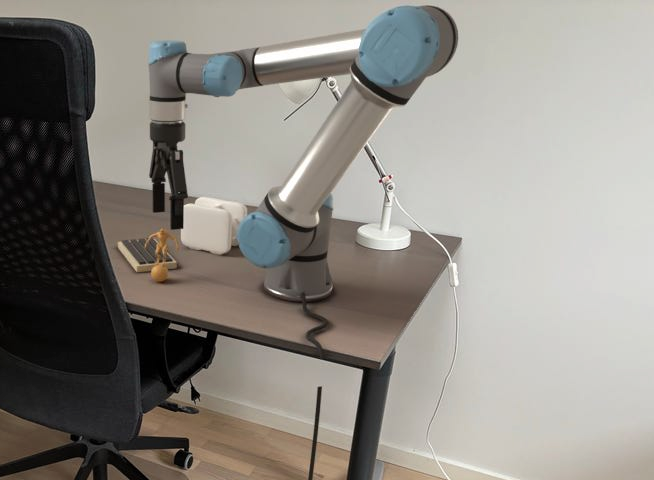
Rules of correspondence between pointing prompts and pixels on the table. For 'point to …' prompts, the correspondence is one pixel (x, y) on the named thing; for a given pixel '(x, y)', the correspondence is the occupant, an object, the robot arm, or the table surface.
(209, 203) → the cable organizer
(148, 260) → the keyboard
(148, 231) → the table surface
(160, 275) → the figurine
